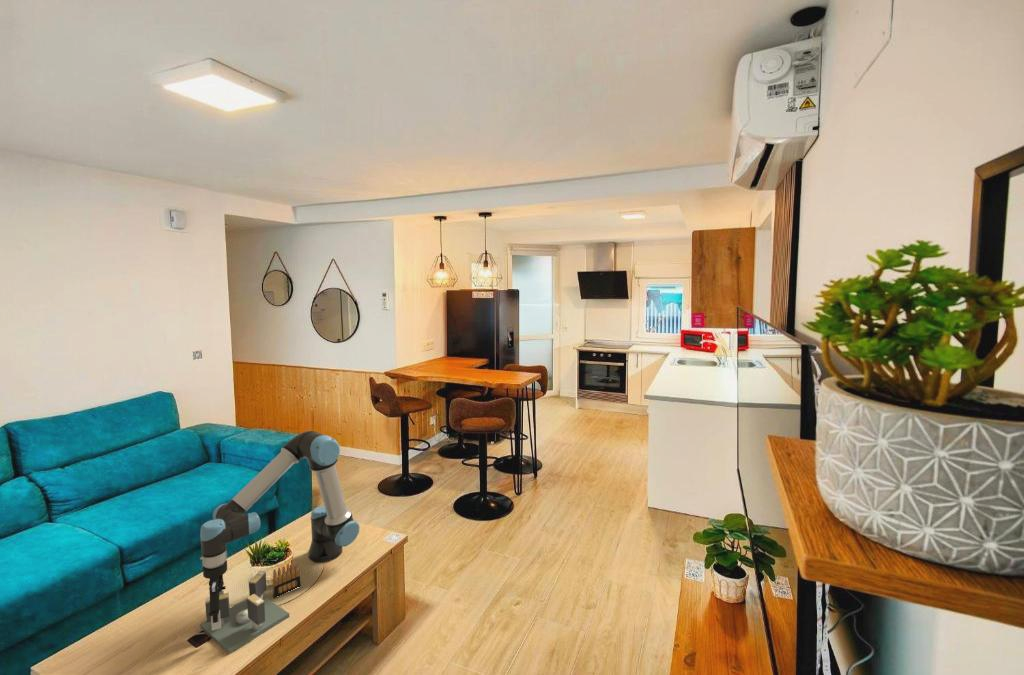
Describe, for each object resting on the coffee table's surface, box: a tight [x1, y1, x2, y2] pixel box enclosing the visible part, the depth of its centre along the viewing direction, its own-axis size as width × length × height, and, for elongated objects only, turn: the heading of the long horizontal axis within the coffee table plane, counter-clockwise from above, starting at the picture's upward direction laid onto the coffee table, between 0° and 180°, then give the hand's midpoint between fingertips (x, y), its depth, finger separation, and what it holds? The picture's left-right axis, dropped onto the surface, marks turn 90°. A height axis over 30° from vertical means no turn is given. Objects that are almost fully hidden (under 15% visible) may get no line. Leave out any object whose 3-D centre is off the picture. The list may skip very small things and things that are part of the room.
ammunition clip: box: [272, 560, 302, 599], centre depth 193 cm, size 11×2×12 cm, turn 134°
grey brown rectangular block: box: [248, 570, 268, 600], centre depth 183 cm, size 7×3×12 cm, turn 177°
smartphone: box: [186, 629, 213, 648], centre depth 171 cm, size 7×1×15 cm
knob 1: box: [204, 592, 230, 627], centre depth 171 cm, size 7×3×12 cm, turn 117°
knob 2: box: [246, 594, 265, 631], centre depth 170 cm, size 7×3×12 cm, turn 57°
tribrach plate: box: [199, 594, 290, 655], centre depth 176 cm, size 22×22×4 cm
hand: (218, 618), depth 171 cm, fingers open, 11 cm apart
